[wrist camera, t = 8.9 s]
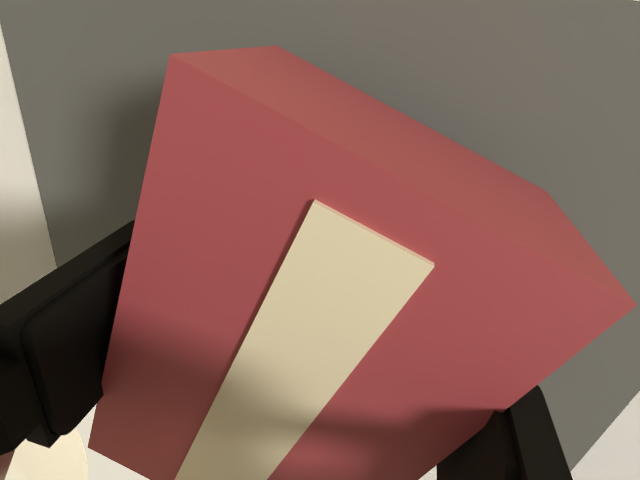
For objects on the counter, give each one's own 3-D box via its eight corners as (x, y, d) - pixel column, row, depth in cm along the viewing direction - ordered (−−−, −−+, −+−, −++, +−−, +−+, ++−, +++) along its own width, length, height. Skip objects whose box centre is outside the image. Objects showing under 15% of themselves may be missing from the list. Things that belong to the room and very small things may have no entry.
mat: (549, 482, 15) (552, 493, 14) (82, 339, 17) (75, 345, 17) (907, 46, 7) (932, 46, 7) (-13, -97, 10) (-29, -102, 9)
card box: (277, 45, 8) (165, 54, 5) (546, 191, 8) (640, 309, 5) (174, 339, 13) (84, 450, 10) (341, 426, 13) (311, 567, 10)
